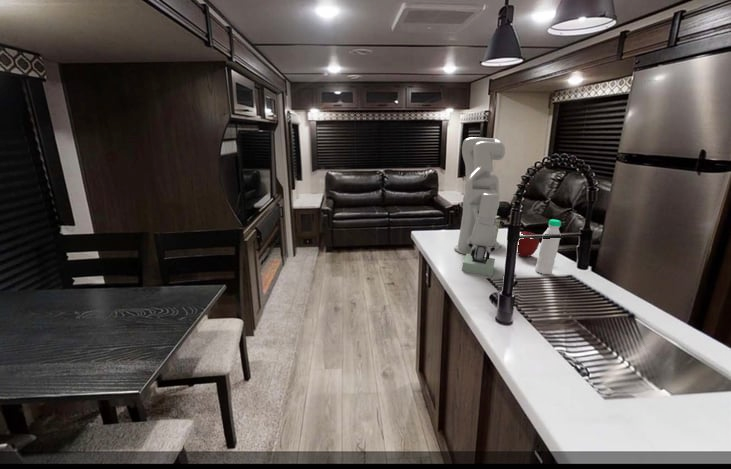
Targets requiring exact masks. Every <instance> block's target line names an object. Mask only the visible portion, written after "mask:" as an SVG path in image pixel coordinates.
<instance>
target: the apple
mask: <svg viewBox="0 0 731 469" xmlns="http://www.w3.org/2000/svg"><path fill="white" fill-rule="evenodd" d="M520 232H521V234H523V235H537V234H536V233H534V232H530V231H525V230H524V231H520ZM539 244H540V238H539V239H530V238H524V239H520V240H519V245H518V253H517V254H518V255H519V256H521V257H524V256H525V257H526V258H527V257H528V256H529V257H530V256H533V255H534V254H535V252H536V251H537V250H538V247H539Z"/></svg>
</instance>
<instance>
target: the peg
mask: <svg viewBox="0 0 731 469" xmlns="http://www.w3.org/2000/svg"><path fill="white" fill-rule="evenodd" d="M486 253H487V246H481V245H477V250H476V256H475V262H478V263H484V258H485V257H486Z"/></svg>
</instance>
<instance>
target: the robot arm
mask: <svg viewBox="0 0 731 469" xmlns="http://www.w3.org/2000/svg"><path fill="white" fill-rule="evenodd" d="M505 154H506V147H505V145H504V143H503V142H502V141H500V140H499V139H498V138H491V137H481V136H480V137H479V136H478V137H477V136H475V137H473V136H471V137H467V138H465V139H464V140H463V142H462V146H461V155H462V158H463V162H464V165H465V166H464V167H465V184H464V195H463V197H462V216H461V223H460V230H459V235H458V236H459V237H458V243H457V245H455V246H454V251H455V252H457V253H459V254H462V255H466V254H471V256H472V258H474V255H476V250H477V245H481V246H486V249H487V250H486V253H485V257H486V259H485V261H487V259H489V258H490V257H491V256H490V254H491V253H492V252H494V251H496V250H498V249H500V244H499V242H498V240H497V239H496V231H497V225H496V224H495V223H499V220H497V219H496V216H498V215H497V214H498V209H499V208H500V198H501V197H500V182H499V177H498V176H497V174H495V173H493V171H494V165H493V164H494V162H493V161H501V160H504V157H505ZM499 224H500V223H499Z"/></svg>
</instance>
